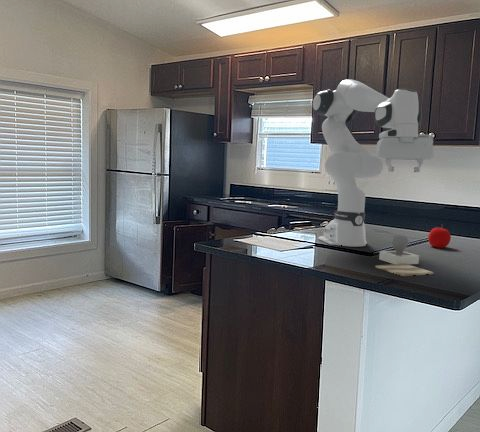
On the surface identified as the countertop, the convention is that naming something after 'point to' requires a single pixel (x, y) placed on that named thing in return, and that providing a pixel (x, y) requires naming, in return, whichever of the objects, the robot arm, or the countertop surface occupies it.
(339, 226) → the robot arm
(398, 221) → the countertop surface
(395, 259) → the socket
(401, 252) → the light bulb
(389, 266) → the board
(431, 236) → the fruit
